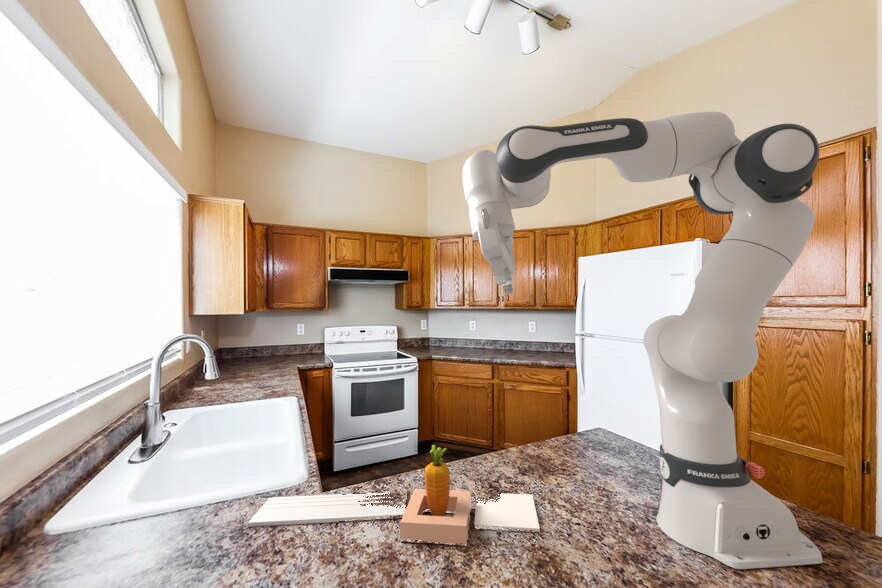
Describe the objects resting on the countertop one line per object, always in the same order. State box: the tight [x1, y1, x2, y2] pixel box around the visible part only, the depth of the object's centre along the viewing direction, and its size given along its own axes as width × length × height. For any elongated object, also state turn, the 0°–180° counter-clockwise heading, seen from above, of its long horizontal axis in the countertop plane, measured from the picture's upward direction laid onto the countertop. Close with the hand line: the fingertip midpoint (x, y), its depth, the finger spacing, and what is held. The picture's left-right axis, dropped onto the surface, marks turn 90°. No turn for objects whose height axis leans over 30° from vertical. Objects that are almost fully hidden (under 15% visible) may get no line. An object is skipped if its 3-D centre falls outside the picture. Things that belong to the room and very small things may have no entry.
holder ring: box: [399, 488, 472, 543], centre depth 69 cm, size 12×12×4 cm
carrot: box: [424, 444, 451, 517], centre depth 69 cm, size 5×5×15 cm
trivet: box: [474, 492, 541, 532], centre depth 72 cm, size 12×12×1 cm
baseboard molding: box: [247, 488, 408, 528], centre depth 76 cm, size 31×3×12 cm
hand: (505, 289), depth 70 cm, fingers open, 8 cm apart
